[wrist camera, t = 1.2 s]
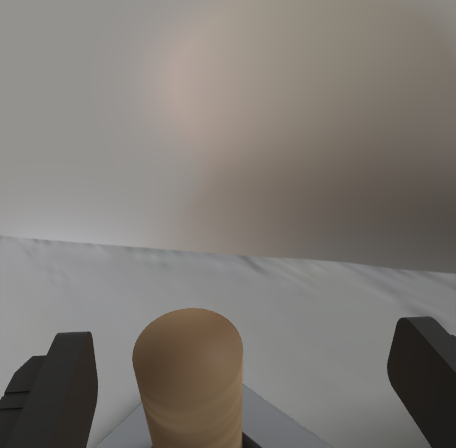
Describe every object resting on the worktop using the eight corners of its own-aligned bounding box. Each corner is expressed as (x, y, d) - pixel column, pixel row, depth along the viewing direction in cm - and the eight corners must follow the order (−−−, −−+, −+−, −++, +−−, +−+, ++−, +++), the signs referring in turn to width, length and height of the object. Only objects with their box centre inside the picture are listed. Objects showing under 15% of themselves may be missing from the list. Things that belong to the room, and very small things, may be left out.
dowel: (257, 481, 26) (264, 341, 18) (206, 554, 23) (189, 424, 15) (201, 433, 29) (187, 294, 21) (149, 493, 25) (109, 355, 18)
